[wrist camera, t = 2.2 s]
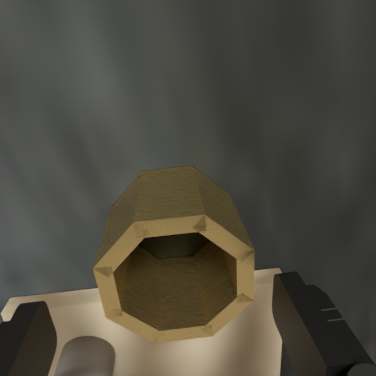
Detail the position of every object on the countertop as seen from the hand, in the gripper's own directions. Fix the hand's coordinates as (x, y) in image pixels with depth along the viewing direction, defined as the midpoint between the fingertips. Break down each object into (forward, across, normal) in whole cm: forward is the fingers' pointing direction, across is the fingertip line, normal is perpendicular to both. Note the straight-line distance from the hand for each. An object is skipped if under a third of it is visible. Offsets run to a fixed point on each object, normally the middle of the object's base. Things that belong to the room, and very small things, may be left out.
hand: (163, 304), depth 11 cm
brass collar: (+6, -1, 0) cm, 6 cm away
